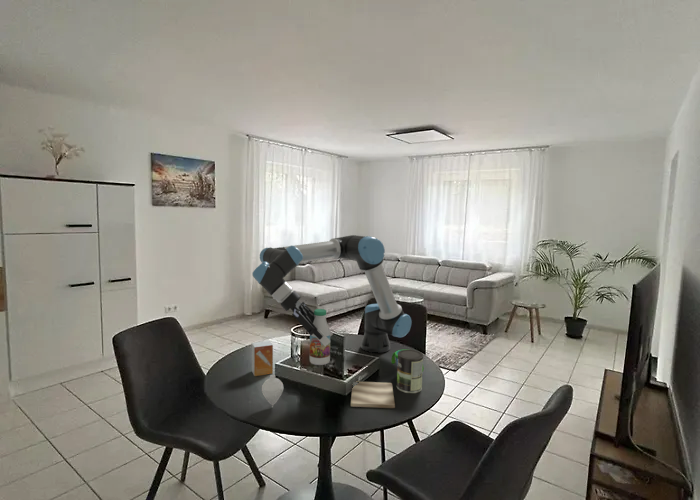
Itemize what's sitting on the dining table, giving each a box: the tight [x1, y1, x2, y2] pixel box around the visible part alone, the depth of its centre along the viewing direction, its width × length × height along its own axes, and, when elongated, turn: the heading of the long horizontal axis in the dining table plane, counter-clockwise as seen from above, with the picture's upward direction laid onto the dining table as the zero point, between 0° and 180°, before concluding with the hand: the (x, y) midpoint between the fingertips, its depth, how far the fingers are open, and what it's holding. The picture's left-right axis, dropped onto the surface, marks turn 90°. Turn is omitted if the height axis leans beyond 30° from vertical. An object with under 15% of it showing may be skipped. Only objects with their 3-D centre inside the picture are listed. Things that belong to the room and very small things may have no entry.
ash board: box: [350, 381, 396, 409], centre depth 148 cm, size 18×16×1 cm
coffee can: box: [396, 349, 424, 394], centre depth 155 cm, size 10×10×14 cm
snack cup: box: [390, 348, 425, 373], centre depth 166 cm, size 16×10×10 cm
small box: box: [251, 340, 274, 377], centre depth 167 cm, size 8×6×13 cm
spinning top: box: [261, 374, 284, 408], centre depth 138 cm, size 8×8×12 cm
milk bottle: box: [309, 308, 331, 366], centre depth 145 cm, size 8×8×20 cm
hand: (329, 340), depth 145 cm, fingers closed on milk bottle, 7 cm apart
